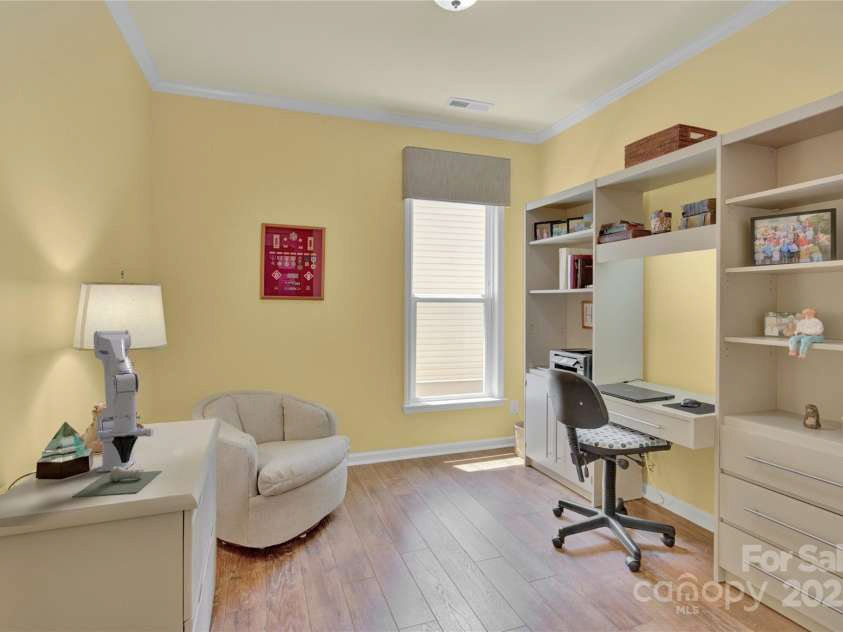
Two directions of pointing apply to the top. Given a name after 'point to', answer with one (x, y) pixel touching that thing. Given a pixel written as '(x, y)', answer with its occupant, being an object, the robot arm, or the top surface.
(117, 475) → the rook chess piece
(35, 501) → the top surface
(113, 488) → the mat
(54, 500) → the top surface
